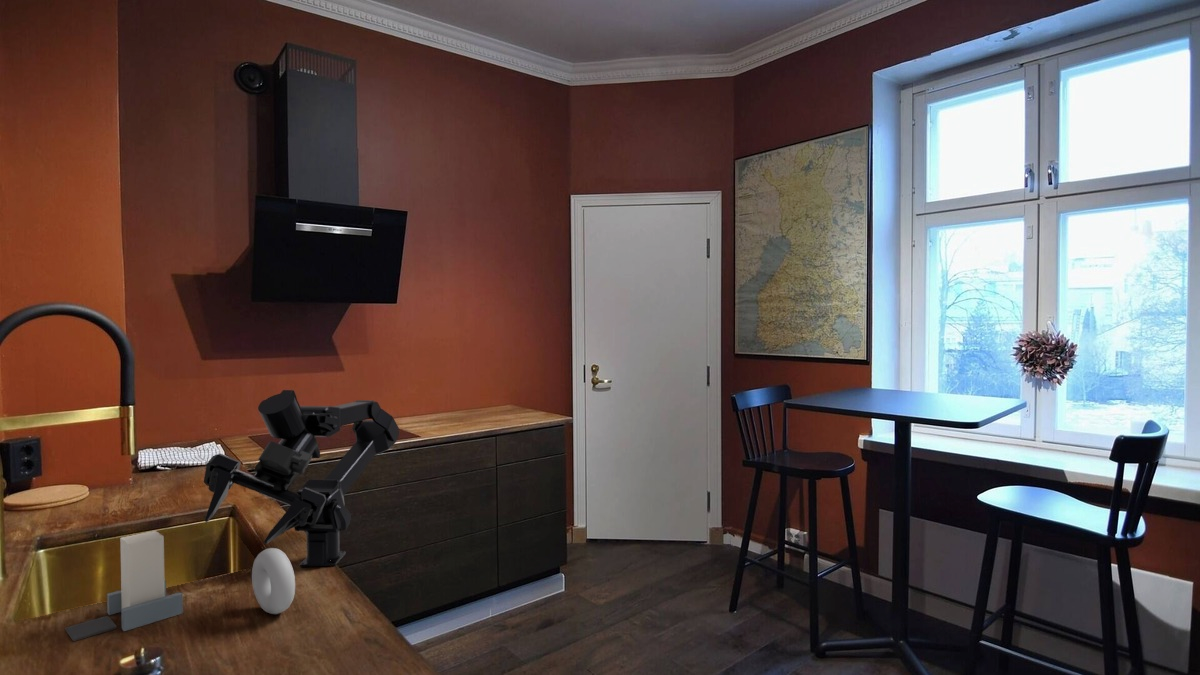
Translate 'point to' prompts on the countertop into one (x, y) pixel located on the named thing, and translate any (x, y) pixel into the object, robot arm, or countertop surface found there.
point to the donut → (273, 580)
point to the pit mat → (90, 628)
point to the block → (142, 568)
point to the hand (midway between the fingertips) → (236, 531)
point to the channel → (145, 609)
